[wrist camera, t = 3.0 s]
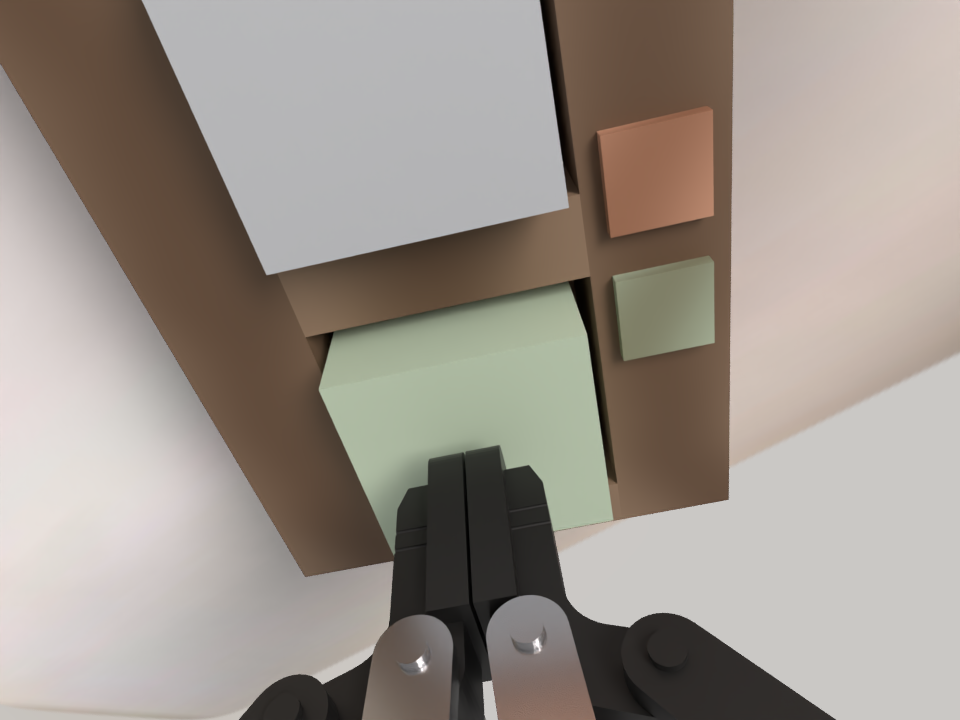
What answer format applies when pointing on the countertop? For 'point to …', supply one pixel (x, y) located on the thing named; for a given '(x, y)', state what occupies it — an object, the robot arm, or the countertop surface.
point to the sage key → (472, 399)
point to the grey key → (368, 117)
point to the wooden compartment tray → (422, 251)
